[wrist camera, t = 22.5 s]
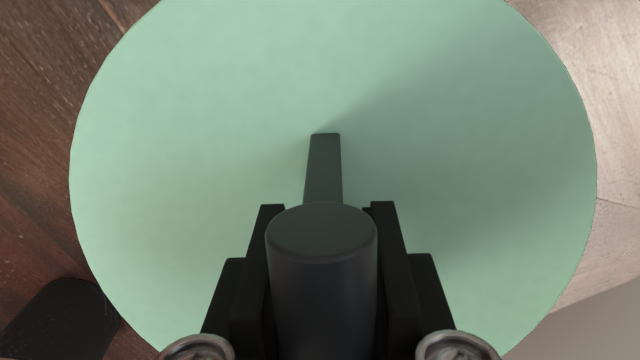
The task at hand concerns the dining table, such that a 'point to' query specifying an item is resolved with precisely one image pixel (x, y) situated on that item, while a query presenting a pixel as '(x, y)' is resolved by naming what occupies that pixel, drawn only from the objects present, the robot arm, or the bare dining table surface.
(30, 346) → the travel mug
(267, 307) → the robot arm
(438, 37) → the lid
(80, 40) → the dining table surface
